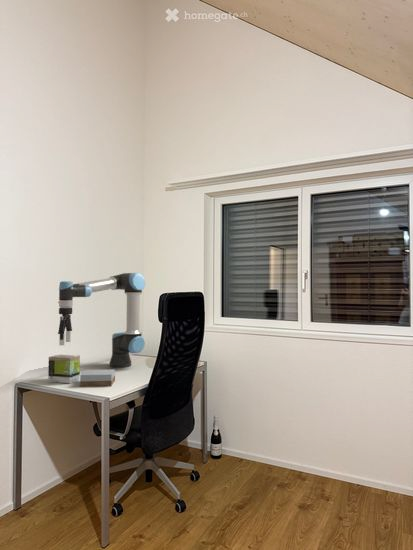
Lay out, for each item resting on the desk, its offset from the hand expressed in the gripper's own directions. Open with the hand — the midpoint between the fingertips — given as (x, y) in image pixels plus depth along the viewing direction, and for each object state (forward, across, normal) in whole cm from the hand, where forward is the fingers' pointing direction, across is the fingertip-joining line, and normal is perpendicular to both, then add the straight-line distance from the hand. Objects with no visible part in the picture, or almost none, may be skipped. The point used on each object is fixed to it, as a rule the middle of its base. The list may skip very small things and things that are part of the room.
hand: (65, 343), depth 234 cm
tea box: (+22, 0, 0) cm, 22 cm away
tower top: (+19, +7, +20) cm, 29 cm away
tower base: (+22, +7, +21) cm, 31 cm away
